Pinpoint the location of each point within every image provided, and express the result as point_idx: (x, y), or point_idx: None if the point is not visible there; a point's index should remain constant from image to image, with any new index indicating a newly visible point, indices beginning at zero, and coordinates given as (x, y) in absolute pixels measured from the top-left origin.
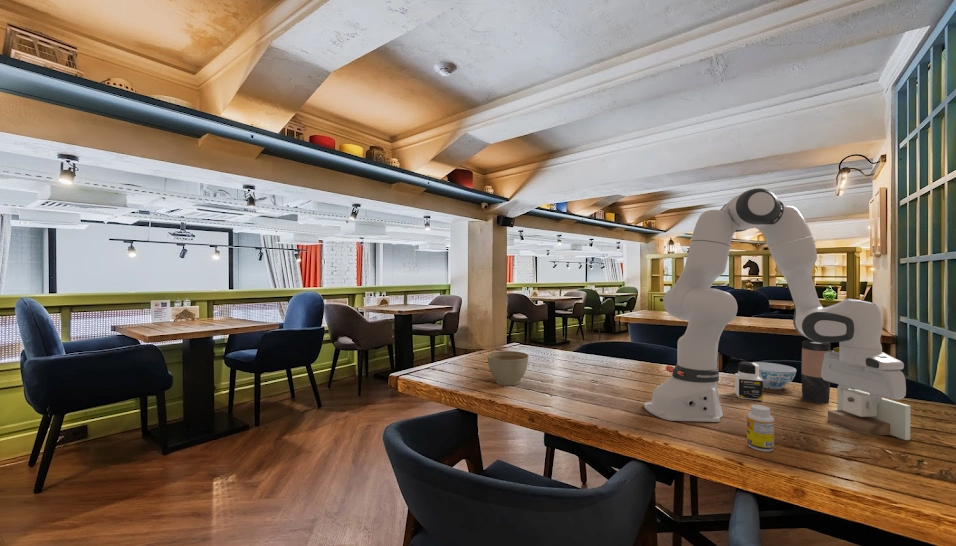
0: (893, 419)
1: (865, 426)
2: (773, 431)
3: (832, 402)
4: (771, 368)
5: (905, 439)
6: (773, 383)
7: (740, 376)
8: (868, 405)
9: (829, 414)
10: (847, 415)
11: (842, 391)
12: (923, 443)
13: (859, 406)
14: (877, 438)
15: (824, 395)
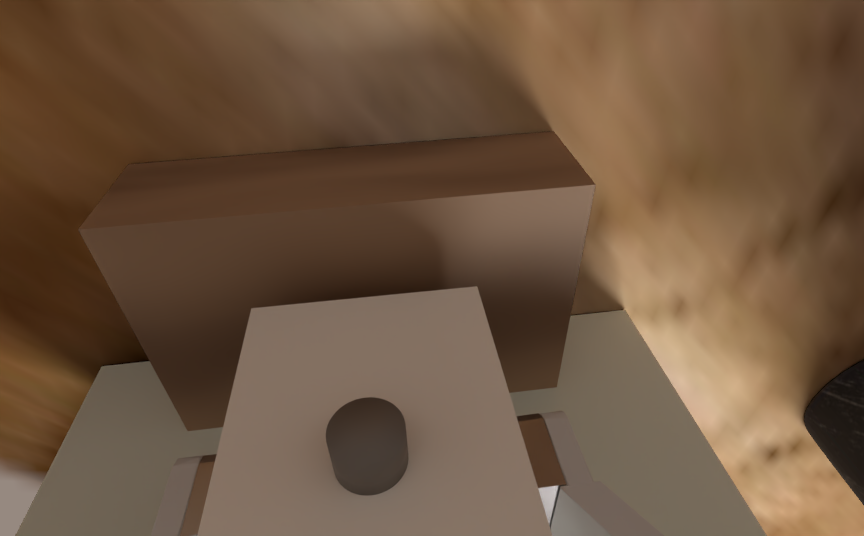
0: (148, 480)
1: (115, 209)
2: None
3: (794, 443)
4: None
5: (102, 372)
6: None
7: None
8: (203, 492)
9: (559, 165)
10: (410, 262)
11: (615, 533)
12: (66, 418)
13: (254, 408)
14: (75, 202)
15: (859, 448)
